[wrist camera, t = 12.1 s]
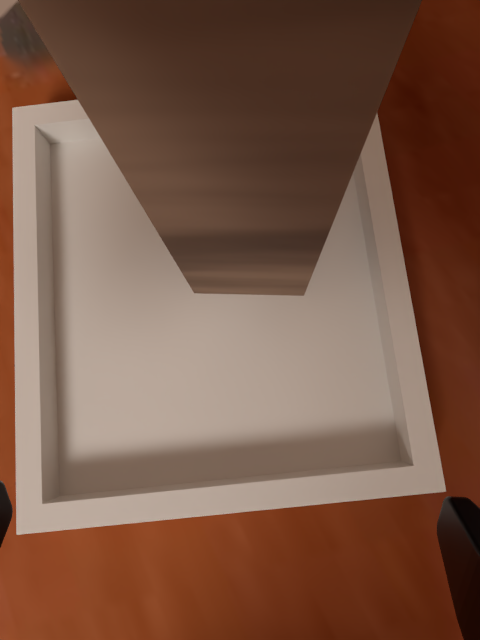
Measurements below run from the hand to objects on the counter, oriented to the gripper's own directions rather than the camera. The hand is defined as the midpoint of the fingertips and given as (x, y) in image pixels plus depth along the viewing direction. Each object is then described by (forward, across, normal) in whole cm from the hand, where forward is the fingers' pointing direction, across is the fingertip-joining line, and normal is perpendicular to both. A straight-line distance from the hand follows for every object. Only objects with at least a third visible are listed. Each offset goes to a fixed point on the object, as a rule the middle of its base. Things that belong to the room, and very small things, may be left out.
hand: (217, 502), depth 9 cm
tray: (+12, +2, +1) cm, 13 cm away
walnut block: (+13, 0, -1) cm, 13 cm away
